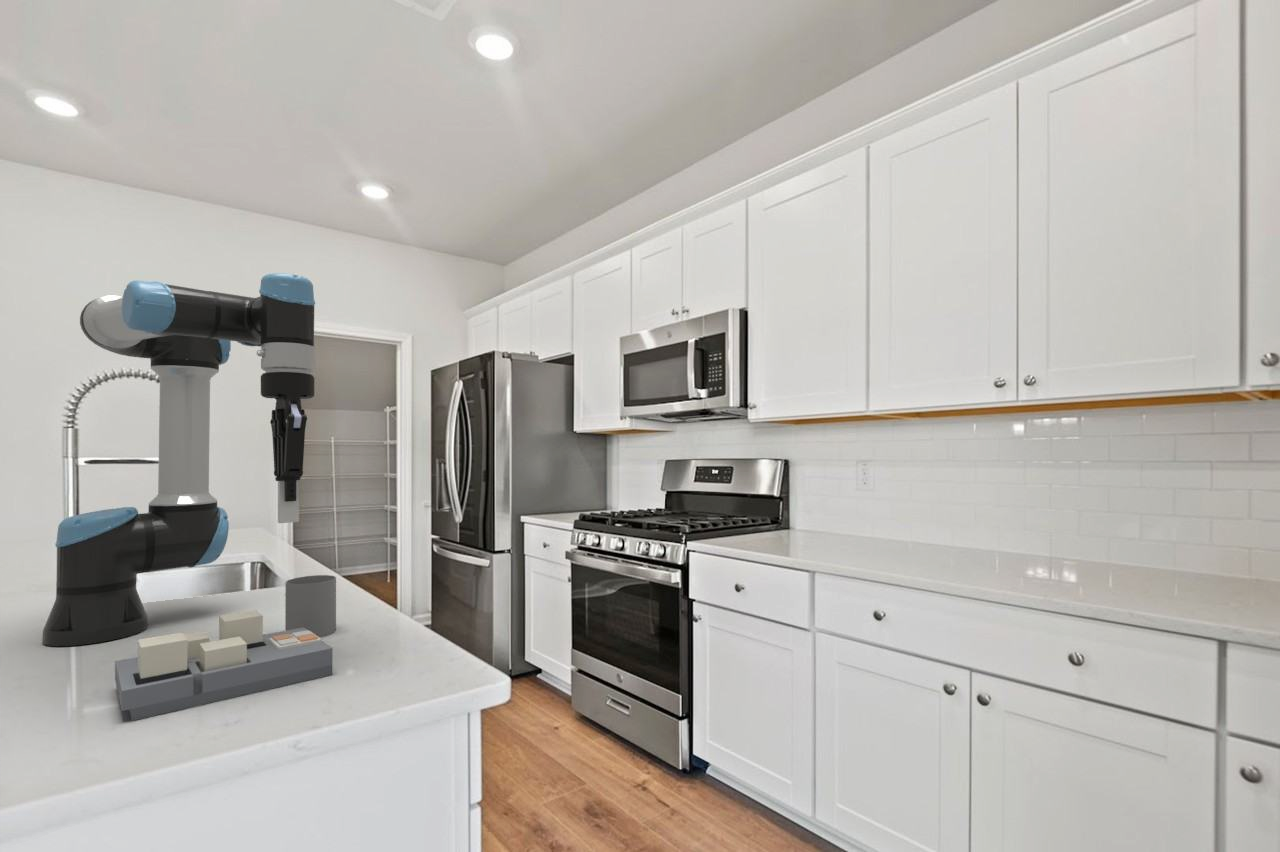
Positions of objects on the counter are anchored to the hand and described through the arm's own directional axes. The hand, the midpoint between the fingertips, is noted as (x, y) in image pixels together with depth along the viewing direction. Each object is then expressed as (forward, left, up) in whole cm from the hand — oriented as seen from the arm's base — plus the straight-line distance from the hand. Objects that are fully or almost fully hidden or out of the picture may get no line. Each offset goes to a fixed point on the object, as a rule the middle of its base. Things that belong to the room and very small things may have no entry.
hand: (288, 522), depth 102 cm
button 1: (+4, -16, -18) cm, 25 cm away
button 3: (+4, -9, -20) cm, 22 cm away
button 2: (-4, -13, -20) cm, 24 cm away
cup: (-19, +8, -23) cm, 31 cm away
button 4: (-4, -6, -18) cm, 20 cm away
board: (0, -8, -23) cm, 24 cm away
